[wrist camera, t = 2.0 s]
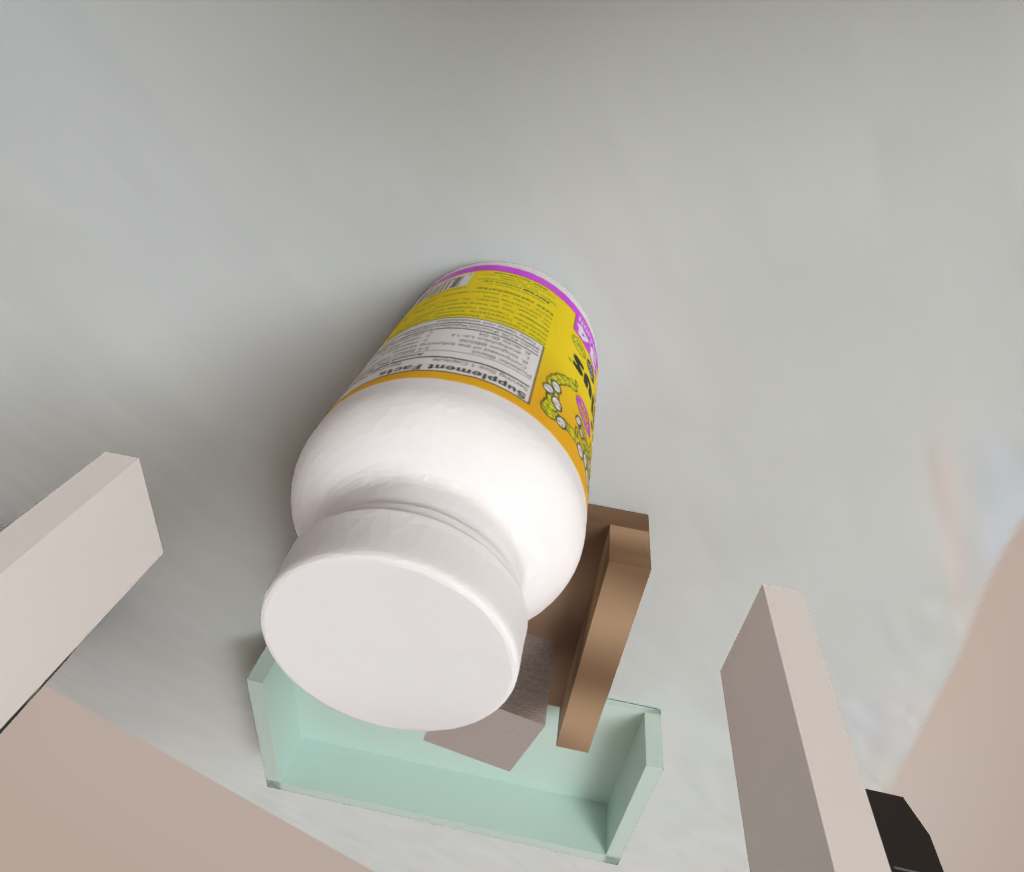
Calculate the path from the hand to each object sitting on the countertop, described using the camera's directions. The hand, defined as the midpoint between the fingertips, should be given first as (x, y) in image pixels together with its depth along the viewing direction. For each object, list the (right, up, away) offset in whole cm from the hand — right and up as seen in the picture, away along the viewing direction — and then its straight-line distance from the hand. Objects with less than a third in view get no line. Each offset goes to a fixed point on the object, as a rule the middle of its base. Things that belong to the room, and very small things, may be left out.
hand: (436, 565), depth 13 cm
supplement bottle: (+1, +6, +8) cm, 10 cm away
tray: (-1, -13, +21) cm, 25 cm away
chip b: (+1, -7, +16) cm, 17 cm away
